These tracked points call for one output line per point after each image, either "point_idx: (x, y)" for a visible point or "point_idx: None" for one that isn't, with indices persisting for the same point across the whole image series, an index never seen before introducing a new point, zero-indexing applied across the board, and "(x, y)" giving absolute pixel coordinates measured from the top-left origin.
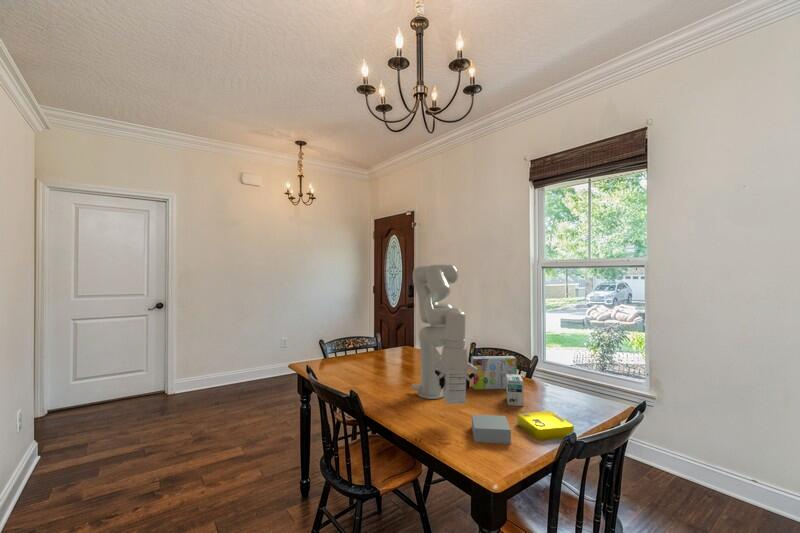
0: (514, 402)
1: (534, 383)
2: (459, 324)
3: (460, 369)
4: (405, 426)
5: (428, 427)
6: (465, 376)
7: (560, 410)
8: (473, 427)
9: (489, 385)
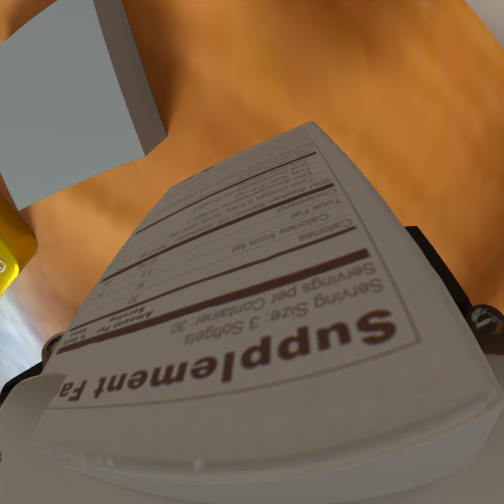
0: None
1: None
2: None
3: (58, 490)
4: (477, 61)
5: (384, 63)
6: (49, 361)
7: (21, 351)
8: (115, 39)
9: None
